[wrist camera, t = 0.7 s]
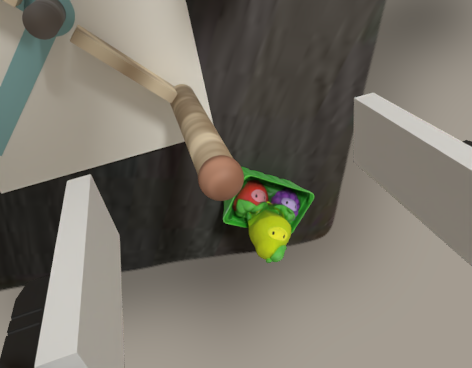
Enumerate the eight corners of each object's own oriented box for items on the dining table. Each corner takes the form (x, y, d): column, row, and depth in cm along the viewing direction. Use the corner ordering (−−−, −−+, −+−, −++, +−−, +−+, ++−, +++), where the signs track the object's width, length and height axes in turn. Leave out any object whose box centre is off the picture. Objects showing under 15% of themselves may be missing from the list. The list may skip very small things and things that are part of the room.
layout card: (-192, -107, 28) (-196, -107, 28) (149, -163, 32) (149, -164, 31) (2, 192, 44) (1, 193, 44) (214, 131, 48) (215, 133, 47)
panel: (66, 44, 37) (33, 122, 21) (83, 14, 36) (62, 70, 20) (185, 116, 44) (231, 216, 28) (202, 92, 43) (259, 181, 27)
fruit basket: (301, 175, 55) (340, 221, 46) (274, 223, 59) (304, 274, 49) (234, 154, 50) (262, 201, 41) (208, 208, 54) (229, 262, 44)
